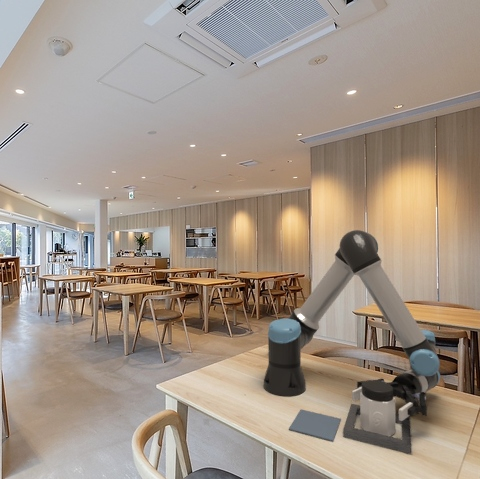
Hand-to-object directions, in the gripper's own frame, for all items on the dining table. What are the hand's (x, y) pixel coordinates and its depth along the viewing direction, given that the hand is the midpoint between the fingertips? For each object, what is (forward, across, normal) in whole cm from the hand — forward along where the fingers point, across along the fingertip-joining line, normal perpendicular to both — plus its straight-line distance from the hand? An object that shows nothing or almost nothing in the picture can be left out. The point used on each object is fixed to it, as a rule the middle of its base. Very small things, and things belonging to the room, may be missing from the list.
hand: (375, 405), depth 88 cm
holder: (-1, 0, -7) cm, 7 cm away
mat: (+10, +12, -7) cm, 18 cm away
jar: (-1, 0, -7) cm, 7 cm away
